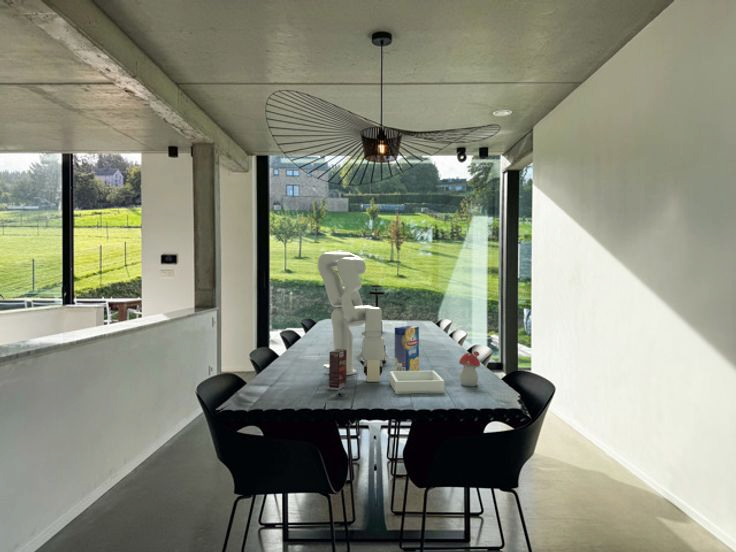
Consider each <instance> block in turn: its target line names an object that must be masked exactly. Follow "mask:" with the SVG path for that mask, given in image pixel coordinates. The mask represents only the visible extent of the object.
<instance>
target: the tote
mask: <svg viewBox="0 0 736 552" xmlns="http://www.w3.org/2000/svg"><path fill="white" fill-rule="evenodd" d="M389 384H390V386H391V388H392V389H394V390H393V392H394V391H395V392H394V394H395V393H396V394H395V395H411V393H412V395H413V393H426V394H445V379H443V378H442V377H441V376H440V375H439V374H438V373H437V372H436V371H435V370H419V371H395V370H391V371H389Z"/></svg>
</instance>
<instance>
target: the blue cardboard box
mask: <svg viewBox="0 0 736 552" xmlns="http://www.w3.org/2000/svg"><path fill="white" fill-rule="evenodd" d="M419 336H420V326H416V325H403V326H397V327H396V326H395V327H394V371H420V361H419V360H420V359H419V357H420V353H419V352H420V345H419V344H420V340H419V339H420V337H419Z"/></svg>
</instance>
